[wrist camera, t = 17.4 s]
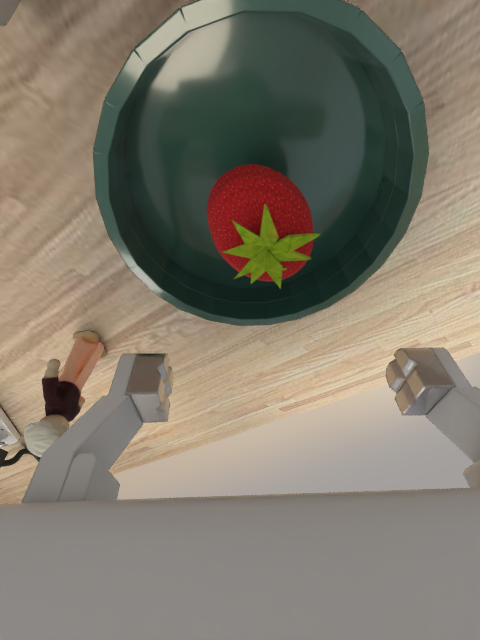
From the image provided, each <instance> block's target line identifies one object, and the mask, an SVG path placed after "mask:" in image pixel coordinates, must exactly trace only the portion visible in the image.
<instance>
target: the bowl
mask: <svg viewBox="0 0 480 640" xmlns="http://www.w3.org/2000/svg"><path fill="white" fill-rule="evenodd" d="M93 150H94V151H93V161H94V177H95V194H96V200H97V203H98V206H99V209H100V212H101V215H102V218H103V221H104V224H105V227H106V230H107V233H108V236H109V237H110V239H111V241H112V242H113V244H114V245H115V247H116V249H117V250H118V252H119V253H120V255H121V257H122V258H123V260H124V261H125V263H126V264H127V266H128V267H129V269H130V270H131V271H132V272H133V273H134V274H135V275H136V276H137V277H138V278H139V279H140V280H141V281H142V282H143V283H144V284H145V285H146V286H147V287H148V288H149V289H150V290H151V291H152V292H154V293H155V294H156V295H158V296H159V297H161V298H163V299H164V300H166V301H167V302H169V303H170V304H172V305H174V306H175V307H177V308H178V309H181V310H182V311H185V312H188V313H190V314H193V315H196V316H198V317H201V318H203V319H206V320H210V321H214V322H220V323H226V324H232V325H239V326H247V325H268V324H269V325H272V324H277V323H282V322H287V321H292V320H297V319H300V318H303V317H305V316H308V315H310V314H313V313H315V312H318V311H320V310H323V309H325V308H327V307H330V306H331V305H333V304H335V303H336V302H338V301H339V300H341V299H343V298H344V297H346V296H347V295H349V294H351V293H352V292H354V291H355V290H356V289H358V288H359V287H360V286H361V285H362V284H363V283H364V282H365V281H366V280H367V279H368V278H369V277H371V276H372V275H373V274H374V273H375V272H376V271H377V270H378V269H379V268H380V267H381V265H383V264H384V263H385V261H386V260H387V258H388V257H389V256H390V254H391V253H392V252H393V250H394V249H395V247H396V246H397V245H398V243H399V242H400V240H401V239H402V238H403V236H404V234H405V233H406V231H407V229H408V226H409V224H410V222H411V219H412V217H413V215H414V212H415V210H416V208H417V205H418V203H419V201H420V199H421V195H422V190H423V185H424V179H425V173H426V167H427V161H428V155H429V151H428V150H429V146H428V136H427V127H426V117H425V107H424V102H423V98H422V95H421V93H420V91H419V88H418V86H417V84H416V82H415V79H414V77H413V75H412V73H411V70H410V68H409V66H408V64H407V61H406V59H405V57H404V55H403V53H402V52H401V49H400V48H399V47H398V46H397V45H396V44H395V43H394V42H393V41H392V40H391V39H390V38H389V37H388V36H387V35H386V34H385V33H384V32H383V31H382V30H381V29H380V28H379V27H378V26H377V25H376V24H375V23H374V22H373V20H372V19H371V18H370V17H369V16H368V15H367V14H366V13H365V12H364V11H363V10H361V9H360V8H358V7H356V6H353V5H351V4H349V3H347V2H344V1H342V0H196V1H194V2H191V3H189V4H186V5H183V6H181V8H178V9H177V10H176V11H175V12H174V13H173V14H172V15H170V16H169V17H168V18H167V19H166V20H165V21H164V22H163V23H161V24H160V25H159V26H158V27H157V28H156V29H155V30H154V31H152V32H151V33H150V34H149V35H148V36H147V37H146V38H145V39H143V40H142V41H141V42H140V43H139V44H138V45H137V46H135V48H134V49H133V50H132V51H131V53H130V55H129V57H128V58H127V60H126V62H125V64H124V65H123V67H122V69H121V71H120V72H119V74H118V76H117V78H116V79H115V81H114V83H113V85H112V86H111V88H110V90H109V92H108V93H107V95H106V97H105V100H104V103H103V107H102V112H101V116H100V121H99V125H98V130H97V134H96V139H95V143H94V148H93ZM245 164H257V165H261V166H265V167H269V168H271V169H273V170H276V171H278V172H280V173H281V174H283V175H284V176H286V177H287V178H288V179H290V180H291V181H292V182H293V183H294V184H295V185H296V186H297V187H298V188H299V190H300V191H301V193H302V194H303V196H304V197H305V199H306V201H307V203H308V206H309V208H310V211H311V216H312V221H313V231H314V233H320V236H318V237H317V238H315V239H314V242H313V248H312V251H311V254H310V257H311V260H307V262H306V264H305V265H304V266H303V267H302V268H301V269H300V270H299V271H298V272H297V273H295V274H294V275H292V276H291V277H288V278H286V279H283V280H281V289H280V288H279V287H278V285H277V284H276V283H275V281H261V280H255V281H254V282H253V283H252V284H251V278H250V277H247V276H245V275H243V276H241V277H238V278H236V279H234V278H235V276H236V275H237V274H238V273H239V272H238V271H237V270H236V269H234V268H233V267H231V266H230V265H229V264H228V263H227V262H226V261H225V260H224V258H223V257H222V255H221V254H220V253H219V251H218V249H217V247H216V246H215V244H214V241H213V238H212V235H211V231H210V228H209V225H208V219H207V202H208V198H209V195H210V191H211V189H212V188H213V186H214V184H215V183H216V181H217V180H218V179H219V178H220V177H221V176H222V175H223V174H224V173H226V172H228V171H229V170H231V169H233V168H235V167H237V166H241V165H245Z"/></svg>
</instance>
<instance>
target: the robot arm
mask: <svg viewBox="0 0 480 640" xmlns="http://www.w3.org/2000/svg"><path fill="white" fill-rule="evenodd" d="M394 356H395V358H396V359H395V360H393V361H391V362H390V363H389V364H388V366H387V368H386V378H387V382H388V384H389V387H390V388H391V389H392V390H394V391H395V392H396V396H395V400H396V402H397V405H398V407H399V409H400V411H401V414H402V415H427V416H426V417H427V418H428V419H429V420H430V421H431V422H432V423H433V424H434V425H435V426H436V427H437V428H438V429H439V430H440V431H441V432H442V433H443V434H445V435H446V436H447V437H448V438H449V439H450V440H451V441H452V442H453V443H454V444H455V445H456V446H457V447H458V448H459V449H460V450H461V451H462V452H463V453H464V454H465V455H467V456H468V458H470V459H471V460H472V461H473V462H474V464H472V465H471V466H469V467H468V468H466V469H465V470H464V472H463V475H464V476H465V479H466V480H467V483H468V484H469V486H470V488H457V489H456V488H455V489H454V488H453V489H423V490H397V491H396V490H395V491H394V490H393V491H363V492H333V493H305V494H304V493H303V494H274V495H244V496H214V497H184V498H155V499H124V500H117V496H118V491H119V486H120V484H119V482H118V481H117V480H116V479H115V478H114V476H113V475H112V474H111V473H110V472H109V471H108V470H109V469H110V467H111V466H112V465H113V463H114V462H115V461H116V459H117V458H118V457H119V455H120V454H121V453H122V452H123V450H124V449H125V448H126V446H127V445H128V444H129V442H130V441H131V440H132V438H133V437H134V436H135V434H136V433H137V432H138V430H139V429H140V428H141V426H142V425H143V423H148V422H167V421H168V415H169V408H170V402H169V398H168V396H169V395H170V394H171V393H172V387H173V372H172V368H171V367H170V366H169V357H168V354H123V355H122V356H121V357H120V360H119V363H118V366H117V369H116V372H115V375H114V378H113V381H112V385H111V388H110V391H109V394H108V395H107V396H103V397H102V398H101V399H100V400H98V401H97V402H96V403H95V404H94V405H93V406H92V407H91V408H90V409H89V410H88V411H87V412H86V413H85V414H84V415H83V416H82V417H80V418H79V419H78V420H77V421H76V422H75V423H74V424H73V425H72V426H71V427H70V428H69V429H68V430H67V431H66V432H65V433H64V434H62V435H61V436H60V437H59V438H58V439H57V440H56V441H55V442H54V443H53V444H52V445H51V446H50V447H49V448H48V449H47V450H45V451H44V452H43V454H42V456H41V457H38V456H36V455H34V454H33V453H31V452H30V451H29V450H28V449H27V448H26V449H22V450H20V451H19V452H18V453H17V454H16V455H15V456H14V457H13V458H12V459H10V460H5V458H6V456H7V454H8V452H7V451H5V450H3V449H0V467H4V466H9V465H12V464H14V463H16V462H17V461H18V460H19V459H20V458H21V456H22V455H23V454H31V455H33V456H34V457H35V458H36V459H37V461H38V462H39V463H38V465H37V468H36V470H35V472H34V475H33V477H32V479H31V482H30V484H29V486H28V489H27V491H26V493H25V496H24V498H23V500H22V503H4V504H0V640H480V389H479V388H477V387H472V386H471V385H470V383H469V382H468V380H467V379H466V377H465V376H464V374H463V373H462V372H461V370H460V369H459V367H458V365H457V364H456V362H455V361H454V360H453V358H452V357H451V355H450V354H449V352H448V351H447V350H446V349H445V348H401V349H398V350H397V351H396V352H395V354H394ZM19 438H20V435H19V433H18V432H17V430H16V429H15V427H14V426H13V425H12V423H11V422H10V420H9V419H8V417H7V416H6V415H5V413H4V412H3V410H2V409H1V407H0V447H2V446H7V445H11V444H14V443H16V442H18V440H19Z"/></svg>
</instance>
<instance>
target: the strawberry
mask: <svg viewBox="0 0 480 640" xmlns="http://www.w3.org/2000/svg"><path fill="white" fill-rule="evenodd" d="M207 219H208V225H209V228H210V231H211V235H212V238H213V241H214V244H215V246H216V247H217V249H218V251H219V253H220V254H221V255H222V257H223V258H224V260H225V261H226V262H227V263H228V264H229V265H230V266H231V267H233V268H234V269H236V270H237V271H238V272H239V273H238V274H237V275H236V276H235V278H234V279H236V278H238V277H241V276H243V275H245V276H247V277H250V278H251V284H252V283H253V282H254V281H255V280H261V281H275V283H276V284H277V285H278V287H279V288H280V289H281V280H283V279H286V278H288V277H291V276H292V275H294V274H295V273H297V272H298V271H299V270H300V269H301V268H302V267H303V266H304V265H305V264H306V262H307V260H311V257H310V254H311V251H312V248H313V242H314V239H315V238H317V237H318V236H320V233H314V231H313V221H312V216H311V211H310V208H309V206H308V203H307V201H306V199H305V197H304V196H303V194H302V193H301V191H300V190H299V188H298V187H297V186H296V185H295V184H294V183H293V182H292V181H291V180H290V179H288V178H287V177H286V176H284V175H283V174H281V173H280V172H278V171H276V170H273V169H271V168H269V167H265V166H261V165H257V164H245V165H241V166H237V167H235V168H233V169H231V170H229V171H228V172H226V173H224V174H223V175H222V176H221V177H220V178H219V179H218V180H217V181H216V183H215V184H214V186H213V188H212V189H211V191H210V195H209V198H208V202H207Z"/></svg>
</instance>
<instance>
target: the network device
mask: <svg viewBox="0 0 480 640" xmlns="http://www.w3.org/2000/svg"><path fill="white" fill-rule="evenodd" d="M20 1H21V0H0V26H4V25H7V23H8V21H9V20H10V18H11V16H12V15H13V13H14V11H15V10H16V8H17V6H18V4H19V3H20Z"/></svg>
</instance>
